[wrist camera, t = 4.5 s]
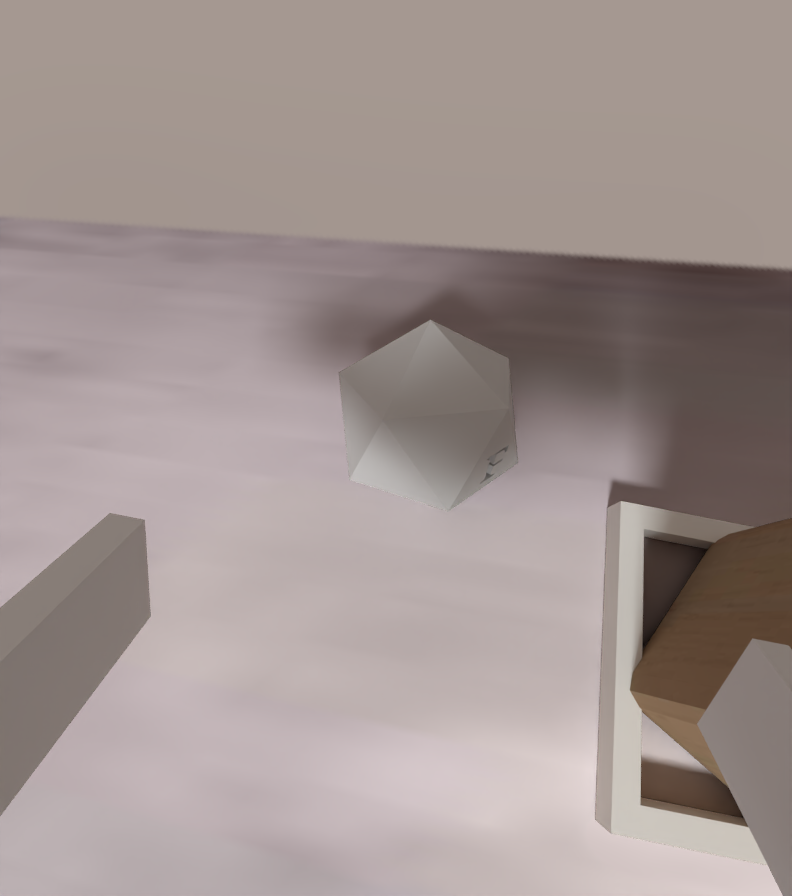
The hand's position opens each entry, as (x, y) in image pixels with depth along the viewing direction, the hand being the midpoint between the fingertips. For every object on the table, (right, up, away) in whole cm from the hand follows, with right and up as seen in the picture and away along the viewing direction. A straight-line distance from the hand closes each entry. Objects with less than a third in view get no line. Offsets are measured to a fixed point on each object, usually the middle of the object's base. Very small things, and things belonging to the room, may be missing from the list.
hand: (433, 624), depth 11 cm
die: (+1, +4, +16) cm, 17 cm away
